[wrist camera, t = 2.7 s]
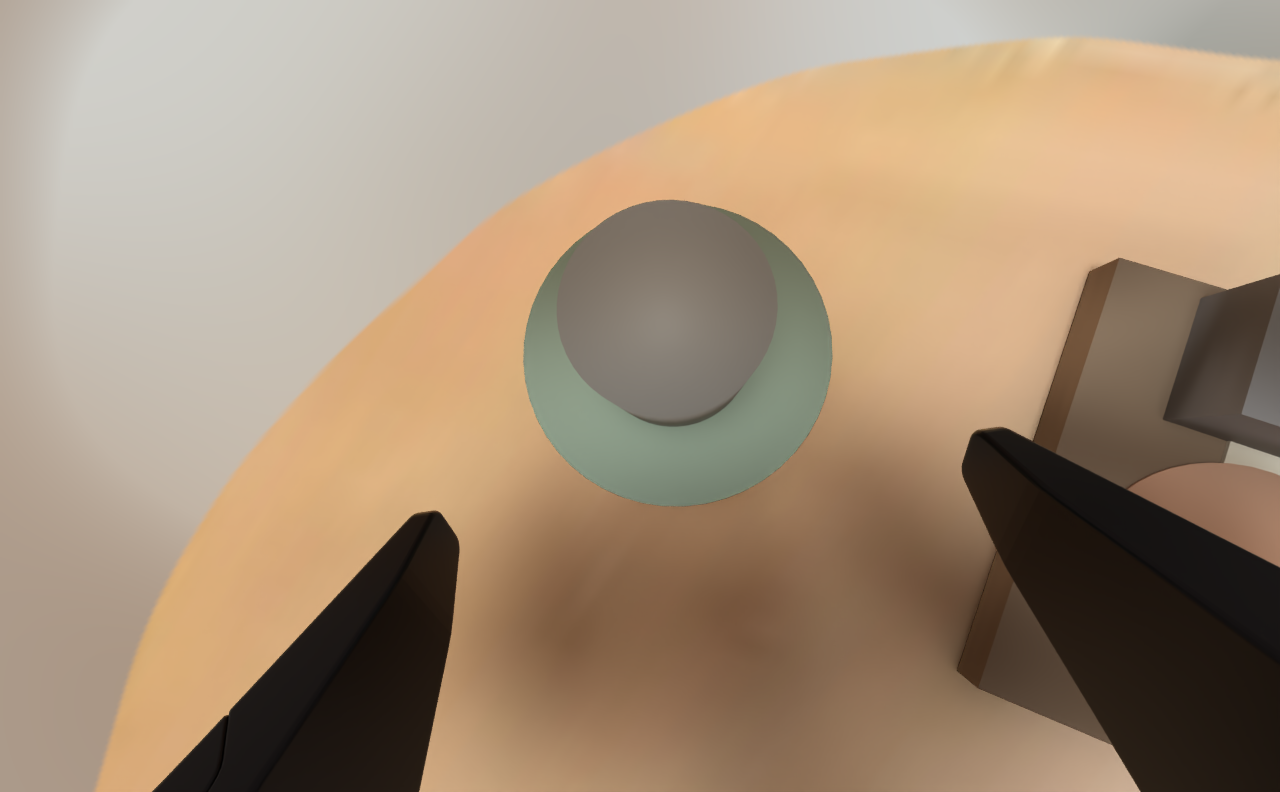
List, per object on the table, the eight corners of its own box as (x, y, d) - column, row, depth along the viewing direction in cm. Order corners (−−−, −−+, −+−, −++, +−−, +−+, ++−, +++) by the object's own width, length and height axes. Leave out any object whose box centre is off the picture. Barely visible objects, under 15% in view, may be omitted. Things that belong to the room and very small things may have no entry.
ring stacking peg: (778, 495, 17) (1075, 644, 4) (606, 504, 18) (351, 661, 4) (763, 325, 18) (968, -42, 5) (598, 339, 19) (353, 49, 5)
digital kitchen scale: (1340, 832, 15) (1542, 950, 11) (957, 670, 16) (1030, 731, 13) (1463, 384, 15) (1685, 365, 12) (1089, 271, 17) (1191, 225, 14)
